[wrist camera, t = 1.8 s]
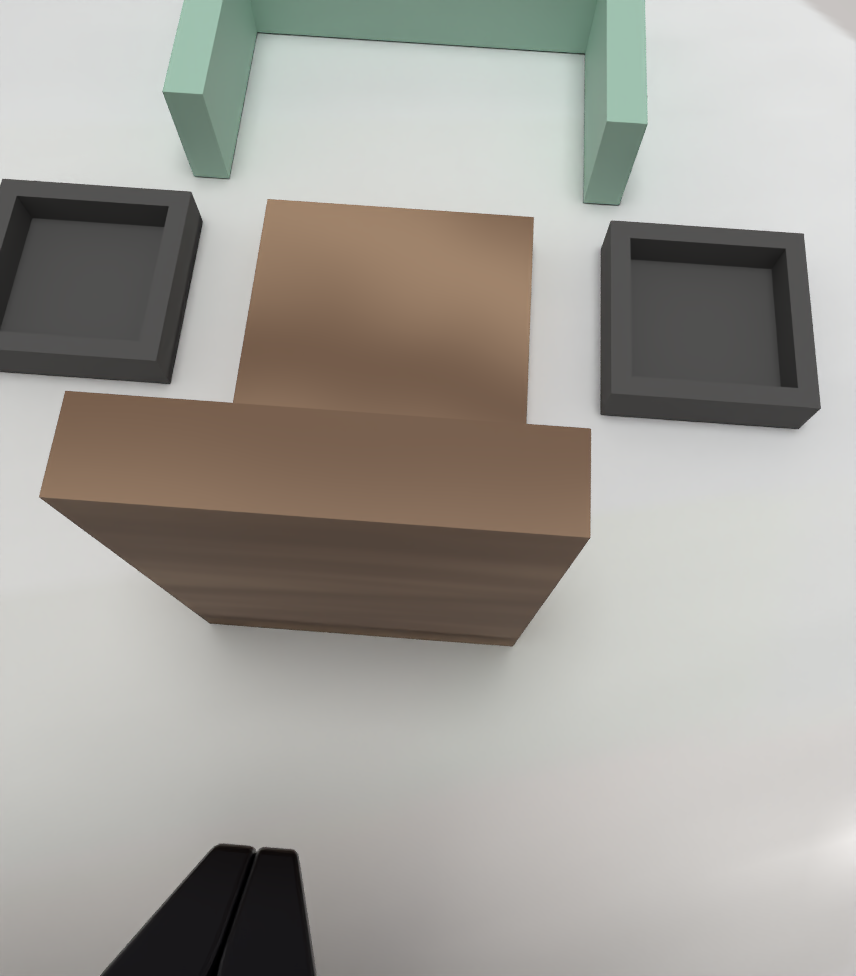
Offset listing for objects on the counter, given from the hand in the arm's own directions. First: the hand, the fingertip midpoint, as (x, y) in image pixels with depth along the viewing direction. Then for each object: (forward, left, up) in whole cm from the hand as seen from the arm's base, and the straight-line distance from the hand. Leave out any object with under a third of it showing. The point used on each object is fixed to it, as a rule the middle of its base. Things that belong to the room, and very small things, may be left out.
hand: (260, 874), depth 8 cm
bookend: (+9, -3, -10) cm, 14 cm away
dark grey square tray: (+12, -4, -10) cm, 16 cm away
